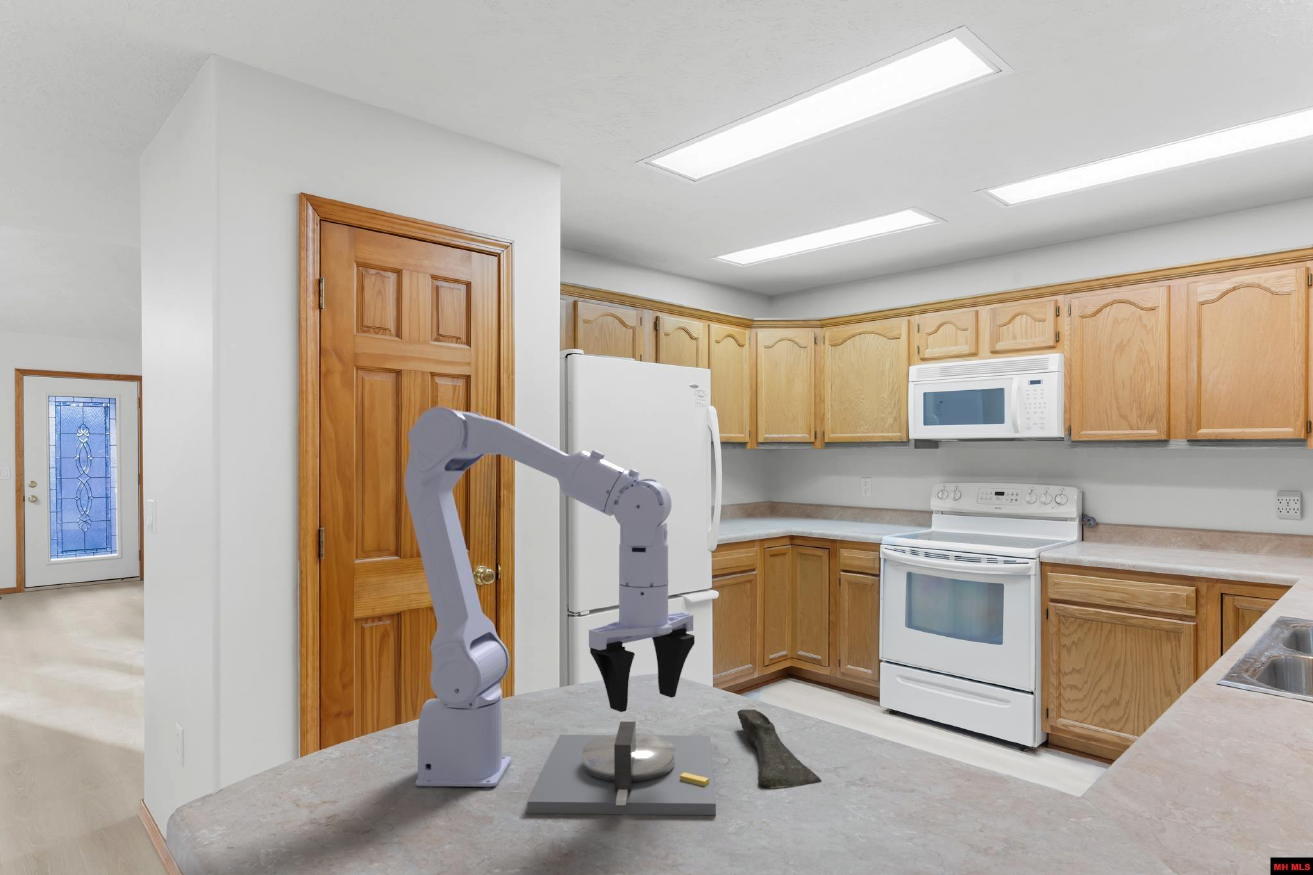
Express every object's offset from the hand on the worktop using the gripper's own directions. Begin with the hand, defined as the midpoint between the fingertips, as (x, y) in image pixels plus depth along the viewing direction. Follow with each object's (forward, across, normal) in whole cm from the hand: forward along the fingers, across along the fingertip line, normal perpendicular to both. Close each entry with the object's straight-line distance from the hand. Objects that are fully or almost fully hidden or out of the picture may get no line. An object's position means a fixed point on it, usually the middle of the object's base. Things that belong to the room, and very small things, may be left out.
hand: (643, 702), depth 86 cm
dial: (+8, 0, +3) cm, 9 cm away
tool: (+10, +19, -4) cm, 22 cm away
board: (+10, +1, +4) cm, 10 cm away
